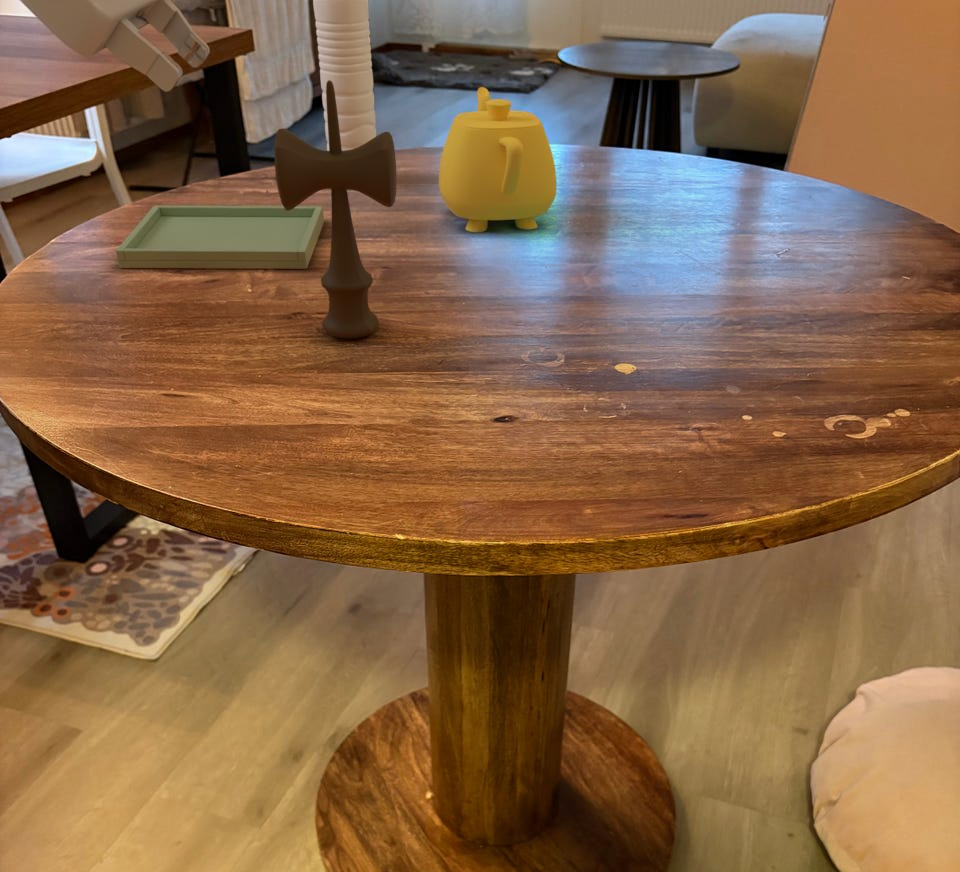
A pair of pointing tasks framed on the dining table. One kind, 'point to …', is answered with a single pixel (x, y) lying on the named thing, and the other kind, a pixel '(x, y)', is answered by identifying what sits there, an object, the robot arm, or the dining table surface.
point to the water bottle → (347, 67)
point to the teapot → (497, 166)
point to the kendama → (339, 210)
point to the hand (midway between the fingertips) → (191, 71)
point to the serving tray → (223, 237)
